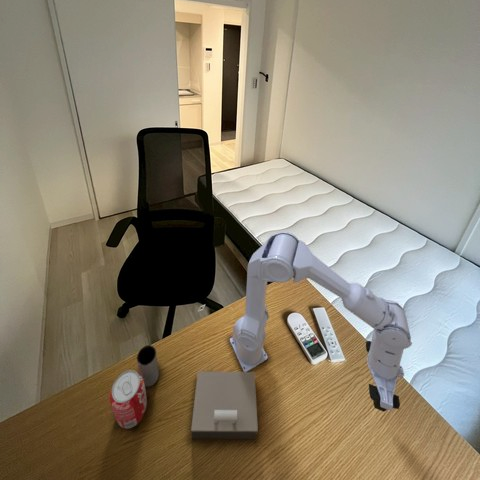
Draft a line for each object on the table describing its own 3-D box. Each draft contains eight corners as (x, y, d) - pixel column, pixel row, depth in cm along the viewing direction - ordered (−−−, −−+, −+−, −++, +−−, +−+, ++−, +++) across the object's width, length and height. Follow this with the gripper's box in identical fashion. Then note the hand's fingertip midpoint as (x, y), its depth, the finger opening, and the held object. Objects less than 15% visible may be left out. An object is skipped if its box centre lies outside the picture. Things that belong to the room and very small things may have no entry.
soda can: (140, 384, 64) (135, 359, 58) (153, 411, 59) (148, 386, 54) (111, 409, 59) (103, 384, 54) (123, 440, 54) (115, 416, 49)
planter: (137, 376, 65) (133, 354, 61) (153, 362, 68) (150, 340, 64) (146, 391, 62) (142, 370, 58) (162, 376, 65) (159, 354, 61)
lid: (257, 432, 53) (259, 423, 52) (190, 432, 53) (190, 422, 51) (254, 373, 63) (255, 364, 61) (197, 372, 62) (197, 363, 60)
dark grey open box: (255, 439, 56) (257, 429, 54) (191, 438, 55) (191, 428, 53) (252, 384, 65) (254, 373, 63) (197, 383, 65) (197, 372, 62)
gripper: (415, 400, 45) (403, 437, 50) (400, 326, 58) (391, 361, 63) (372, 384, 48) (365, 421, 53) (367, 316, 60) (361, 351, 65)
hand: (377, 388), depth 58 cm, fingers open, 7 cm apart
